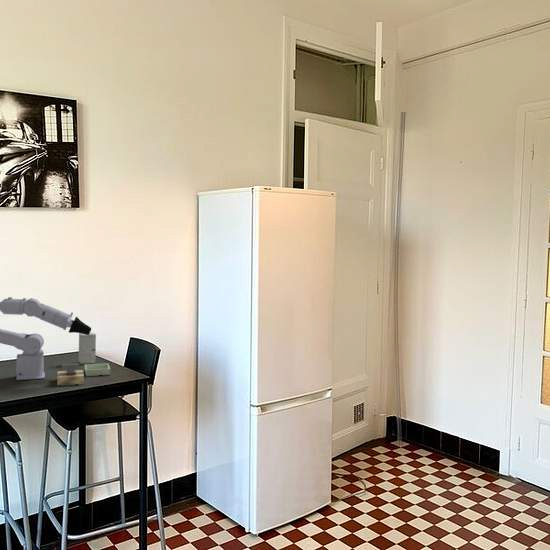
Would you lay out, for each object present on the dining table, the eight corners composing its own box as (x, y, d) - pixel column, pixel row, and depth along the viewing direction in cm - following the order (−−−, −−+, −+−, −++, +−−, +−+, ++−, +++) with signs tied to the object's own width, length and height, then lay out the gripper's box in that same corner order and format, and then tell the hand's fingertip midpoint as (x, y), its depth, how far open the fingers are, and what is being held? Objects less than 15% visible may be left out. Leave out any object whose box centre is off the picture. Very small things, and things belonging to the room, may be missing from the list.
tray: (85, 376, 222) (85, 369, 222) (84, 370, 231) (84, 364, 231) (110, 375, 226) (110, 368, 225) (108, 369, 234) (108, 363, 234)
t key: (61, 383, 212) (61, 365, 212) (61, 381, 215) (61, 363, 214) (79, 382, 214) (79, 364, 214) (79, 380, 217) (79, 363, 216)
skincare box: (81, 364, 241) (81, 335, 240) (78, 362, 245) (78, 333, 244) (96, 362, 245) (96, 334, 244) (93, 360, 249) (93, 332, 248)
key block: (57, 385, 209) (57, 377, 209) (57, 379, 217) (57, 371, 217) (83, 384, 212) (83, 375, 212) (83, 377, 220) (83, 370, 220)
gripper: (59, 308, 213) (94, 323, 217) (61, 306, 227) (94, 320, 231) (50, 326, 212) (86, 340, 216) (53, 323, 226) (86, 337, 230)
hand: (90, 331), depth 223 cm, fingers open, 7 cm apart
